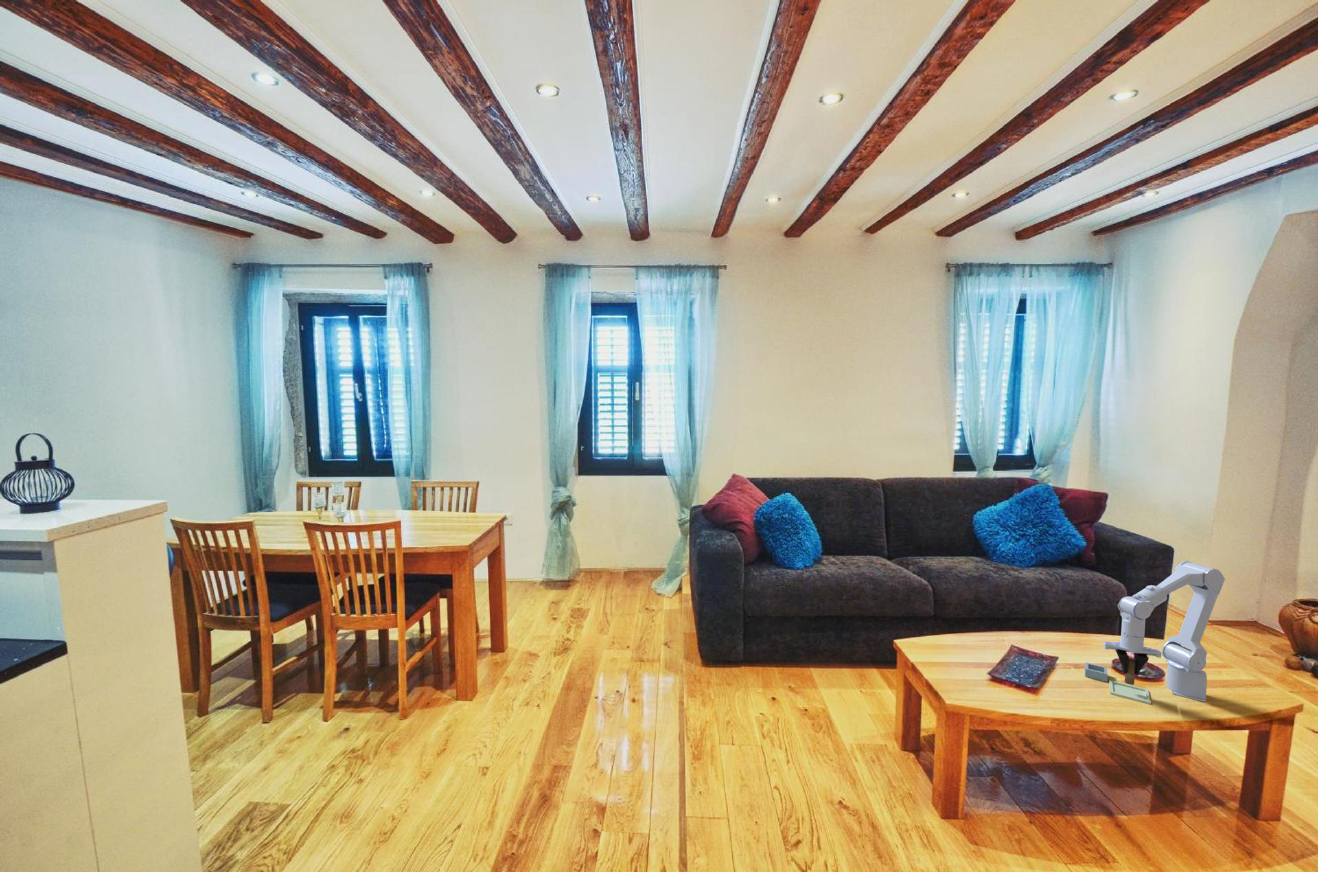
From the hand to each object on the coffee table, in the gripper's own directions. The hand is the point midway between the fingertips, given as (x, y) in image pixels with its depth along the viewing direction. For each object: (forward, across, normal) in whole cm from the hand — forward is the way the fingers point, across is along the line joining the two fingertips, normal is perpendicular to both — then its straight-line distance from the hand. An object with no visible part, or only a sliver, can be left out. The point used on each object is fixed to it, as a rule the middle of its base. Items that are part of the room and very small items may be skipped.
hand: (1130, 673), depth 178 cm
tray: (+7, 0, 0) cm, 7 cm away
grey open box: (+7, +7, -9) cm, 13 cm away
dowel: (+3, 0, 0) cm, 3 cm away
